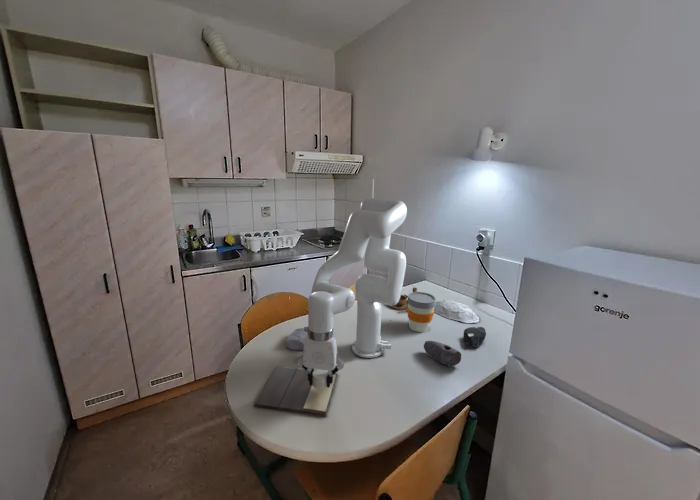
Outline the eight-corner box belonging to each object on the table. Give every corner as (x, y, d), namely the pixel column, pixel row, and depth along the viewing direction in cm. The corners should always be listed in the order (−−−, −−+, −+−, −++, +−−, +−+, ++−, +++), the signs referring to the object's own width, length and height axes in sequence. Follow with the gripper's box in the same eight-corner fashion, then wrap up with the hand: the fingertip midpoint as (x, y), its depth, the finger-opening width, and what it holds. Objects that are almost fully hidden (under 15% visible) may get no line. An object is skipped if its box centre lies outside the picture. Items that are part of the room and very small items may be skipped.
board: (337, 375, 104) (337, 373, 104) (325, 416, 87) (325, 413, 86) (277, 368, 107) (277, 365, 107) (254, 406, 90) (254, 403, 89)
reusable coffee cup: (422, 337, 130) (425, 305, 126) (399, 325, 139) (402, 296, 135) (438, 328, 138) (441, 298, 134) (416, 317, 147) (418, 289, 143)
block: (285, 352, 119) (308, 351, 117) (282, 341, 118) (306, 340, 116) (296, 337, 131) (317, 336, 128) (294, 327, 130) (315, 326, 127)
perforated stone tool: (419, 353, 118) (421, 337, 116) (427, 348, 122) (429, 333, 120) (453, 372, 107) (455, 356, 105) (461, 367, 111) (463, 350, 109)
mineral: (491, 349, 122) (493, 337, 120) (469, 349, 122) (471, 336, 120) (480, 336, 132) (482, 324, 130) (460, 336, 132) (461, 324, 130)
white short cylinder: (329, 379, 97) (329, 369, 96) (326, 390, 92) (326, 379, 91) (314, 377, 97) (314, 367, 96) (310, 388, 93) (310, 377, 92)
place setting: (382, 299, 166) (383, 290, 164) (414, 296, 172) (415, 286, 170) (396, 314, 150) (397, 303, 148) (431, 309, 156) (432, 299, 154)
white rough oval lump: (471, 326, 139) (473, 312, 138) (424, 310, 156) (425, 298, 155) (484, 318, 150) (485, 305, 149) (438, 304, 167) (439, 293, 166)
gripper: (289, 335, 88) (290, 388, 92) (346, 342, 85) (344, 395, 90) (297, 323, 95) (298, 372, 99) (350, 328, 93) (348, 379, 97)
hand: (320, 382), depth 95 cm, fingers closed on white short cylinder, 5 cm apart
